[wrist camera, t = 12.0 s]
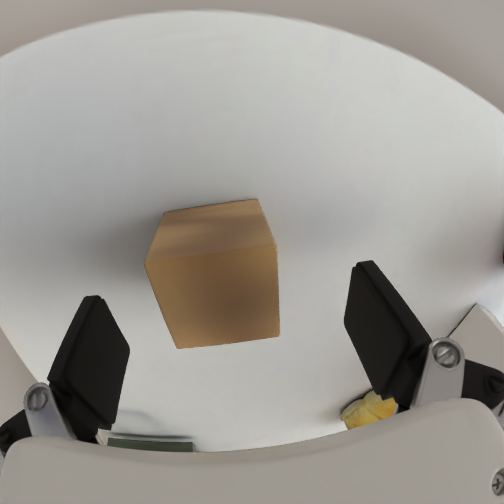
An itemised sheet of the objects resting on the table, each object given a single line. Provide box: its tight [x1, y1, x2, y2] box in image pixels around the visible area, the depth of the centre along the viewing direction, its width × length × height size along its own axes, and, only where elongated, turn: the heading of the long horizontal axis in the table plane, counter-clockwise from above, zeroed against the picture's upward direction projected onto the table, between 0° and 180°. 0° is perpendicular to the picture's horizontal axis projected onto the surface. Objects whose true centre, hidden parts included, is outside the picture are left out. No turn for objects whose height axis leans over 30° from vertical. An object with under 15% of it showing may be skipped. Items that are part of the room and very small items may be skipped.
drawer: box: [107, 438, 195, 452], centre depth 23 cm, size 21×11×7 cm, turn 5°
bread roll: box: [341, 390, 396, 430], centre depth 25 cm, size 8×9×4 cm
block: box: [144, 199, 280, 349], centre depth 12 cm, size 4×4×4 cm
